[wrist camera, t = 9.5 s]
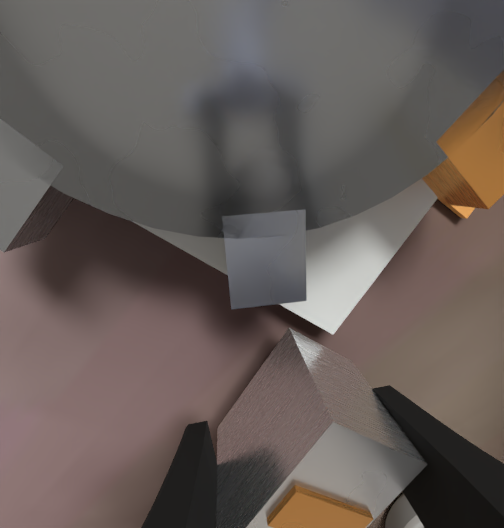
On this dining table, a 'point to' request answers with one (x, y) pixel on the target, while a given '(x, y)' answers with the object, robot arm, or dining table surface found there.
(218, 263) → the base plate
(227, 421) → the box with orange tab
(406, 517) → the travel mug
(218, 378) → the dining table surface
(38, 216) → the sprocket
